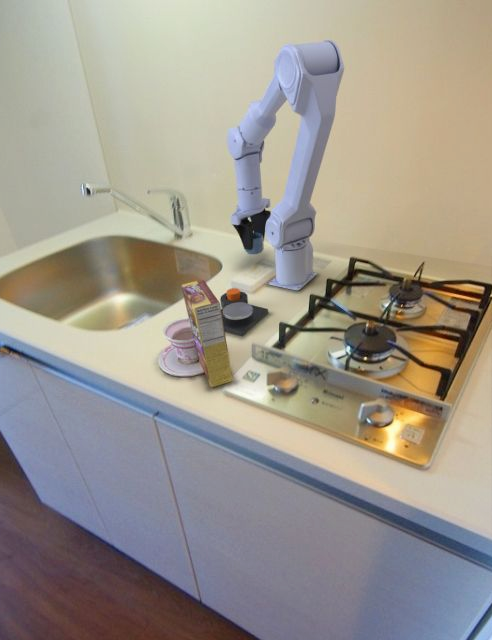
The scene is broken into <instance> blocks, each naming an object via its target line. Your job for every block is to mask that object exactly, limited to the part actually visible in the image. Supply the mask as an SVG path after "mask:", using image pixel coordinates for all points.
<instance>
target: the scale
mask: <svg viewBox="0 0 492 640" xmlns="http://www.w3.org/2000/svg"><path fill="white" fill-rule="evenodd" d="M219 302H220V307H221V313H222V319H223V325H224V331H225V333H228V334H231V335H235V336H238V337H244V336H245V335H246V334H247V333H249V331H251V330H252V329H253V328H255V326H256V325H257V324H259V323H260V322H261V321H262V320H264V318H265V317H266V316H268V315H269V308H266V307H262V306H259V305H258V306H257V305H254V304H250V305H251V306H252V308H253V313H252V314H251V315H250V316H249V317H247V318H244V319H239V320H233V319H228V318H226V317H225V316H224V315H223V309H224V307H226V306H227V305H229V304H232V303H237V302H243V303H248V304H249V297H248V294H247V293H246V292H245V291H242V290H240V299H239V300H236V301H229V300H228V299H227V292H225V293H223V294H222V295H220V298H219Z"/></svg>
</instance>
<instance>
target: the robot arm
mask: <svg viewBox="0 0 492 640" xmlns="http://www.w3.org/2000/svg"><path fill="white" fill-rule="evenodd" d="M273 72H274V74H273V75H272V77H271V78H270V79H271V80H269V81H270V82H269V83H268V85H267V88H266V90H265V91H264V94H263V96H262V98H261V99H257V100H254V101H251V102H250V104H249V105H248V110H247V112H246V114H245V115H244V116H243V117H242V119H241V121H240V123H239V125H238V126H236V127H230V128H229V129H228V132H227V135H226V146H227V149H228V152H229V154H230V156H231V158H233V160H234V162H233V163H234V173H235V181H236V191H237V192H236V193H237V203H238V204H237V205H235V211H234V212H233V214H231V215H230V216H229V217H230V224H231V225H232V226H233V227H234V229H235V231H236V232H237V234H238V236H239V238H240V241H241V244H242V246H243V249H244V250H245V249H248V250H252V248H253V232H257V233H261V234H263V243H264V242H265V237H266V239H267V242H268V243H269V244H270V246H272V248H274V262H275V276H274V278H273V279H272V280H270V281H269V282H268V285H269V286H274V287H278V288H281V289H282V288H283V289H288V290H292V291H300V290H301V289H302V288H304V287H305V286H306V285H307V284H308V283H309V282H310V281H312V279H314V278H315V277H316V276H317V272H315V271H314V246H313V244H312V242H311V241H310V238H311V237H312V236H313V235H314V233H315V227H316V223H315V220H316V215H317V210H316V208H315V207H314V205H313V204H312V203H311V199H312V196H313V192H314V189H315V185H316V183H317V179H318V175H319V172H320V169H321V167H322V166H321V165H322V162H323V158H324V155H325V152H326V149H327V145H328V141H329V138H330V135H331V131H332V129H333V124H334V121H335V116H336V107H337V105H336V104H337V96H338V93H339V89H340V85H341V82H342V79H343V75H344V72H345V65H344V61H343V58H342V55H341V50H340V47H339V46H338V44H337V43H336V41H334V40H332V39H324V40H323V41H317V42H315V41H314V42H307V43H297V44H296V43H295V44H293V43H286V44H284V45H282V47H281V48H280V50H279V51H278V54H277V56H276V58H275V59H274V60H273ZM287 101H288V104H289V106H290V107H291V109H292V111H293V112H294V113H296V114H297V115H299V116H300V124H299V128H298V132H297V136H296V141H295V144H294V150H293V154H292V158H291V162H290V167H289V170H288V175H287V179H286V185H285V189H284V193H283V198H282V199H281V200H280V201H279V202H278V203H277V204H276V205H275V206H273V208H272V209H271V211H270V210H267V209H269V208H270V207H271V198H267V197H266V198H264V197H263V188H262V187H263V186H262V174H261V173H262V172H261V164H262V162H263V152H264V149H265V139H266V138H267V136H268V135H269V134H270V132H271V131H272V129H274V127H275V125H276V123H277V112H278V111H280V109H281V108H282V107H283V105H284V104H285V103H286V102H287Z"/></svg>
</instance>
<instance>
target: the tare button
mask: <svg viewBox="0 0 492 640" xmlns="http://www.w3.org/2000/svg"><path fill="white" fill-rule="evenodd" d="M240 291H241V290H240V289H239V288H236V287H232V288H229V289H227V290H226V293H227V299H228V300H229V301H236V300H239V299H240Z"/></svg>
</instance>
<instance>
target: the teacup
mask: <svg viewBox="0 0 492 640" xmlns="http://www.w3.org/2000/svg"><path fill="white" fill-rule="evenodd" d="M162 333H163V336H164V337H165V339H166V340H167V341H168V342H169V343H170V345H169V346H166V348H164V350H163V351H161V353H160V354H159V357H158V360H157V361H158V365H159V369H161V370H162V371H163V372H164V373H167V374H169V375H171V376H175V377H193V376H197V375H201V374H205V373H204V370H203V368H202V366H201V364H200V362H199V360H198V355H197V351H196V346H195V339H193V335H192V330H191V326H190V321H189V317H184V318H183V317H182V318H178V319H174V320H172V321H170V322H168V323H167V324H166V325H165V326H164V328H163V330H162ZM179 359H181V360H184V361H185V362H186V363H191V364H183V363H181V362H180V360H179ZM195 362H196V363H195ZM192 363H193V364H192Z"/></svg>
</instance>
